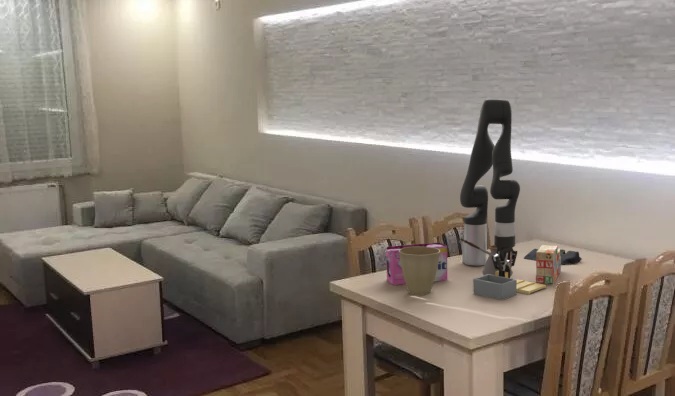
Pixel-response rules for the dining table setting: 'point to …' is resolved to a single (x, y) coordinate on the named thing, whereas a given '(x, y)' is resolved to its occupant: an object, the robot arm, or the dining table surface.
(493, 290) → the tub
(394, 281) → the gum box
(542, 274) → the stack of blocks
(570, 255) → the dark crumpled cloth
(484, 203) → the robot arm
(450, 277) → the dining table surface
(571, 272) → the dining table surface
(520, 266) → the dining table surface
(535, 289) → the lid
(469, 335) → the dining table surface
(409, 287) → the plant pot
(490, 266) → the coffee pot
